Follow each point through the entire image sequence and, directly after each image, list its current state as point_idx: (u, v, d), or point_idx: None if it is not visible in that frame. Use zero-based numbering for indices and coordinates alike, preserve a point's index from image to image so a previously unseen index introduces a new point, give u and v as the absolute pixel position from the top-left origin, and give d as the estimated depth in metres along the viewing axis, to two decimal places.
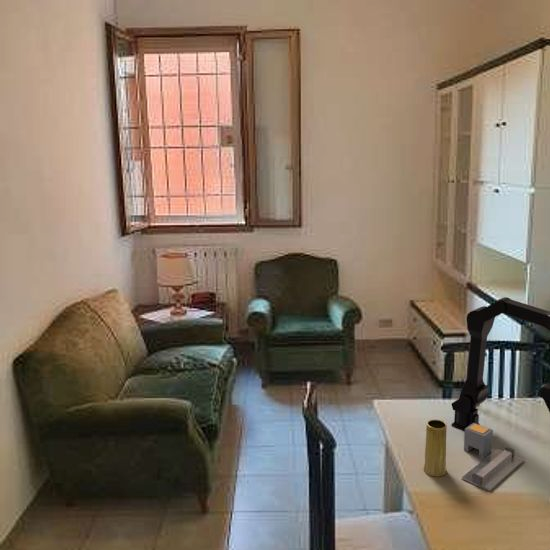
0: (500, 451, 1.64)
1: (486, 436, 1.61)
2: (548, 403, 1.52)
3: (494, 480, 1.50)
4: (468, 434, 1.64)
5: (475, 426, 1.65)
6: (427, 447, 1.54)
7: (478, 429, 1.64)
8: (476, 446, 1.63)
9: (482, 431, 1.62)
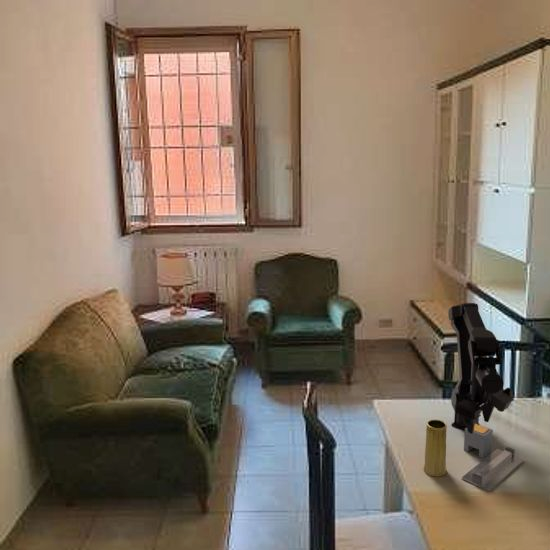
0: (500, 451, 1.64)
1: (486, 436, 1.61)
2: (464, 418, 1.60)
3: (494, 480, 1.50)
4: (468, 434, 1.64)
5: (475, 426, 1.65)
6: (427, 447, 1.54)
7: (478, 429, 1.64)
8: (476, 446, 1.63)
9: (482, 431, 1.62)
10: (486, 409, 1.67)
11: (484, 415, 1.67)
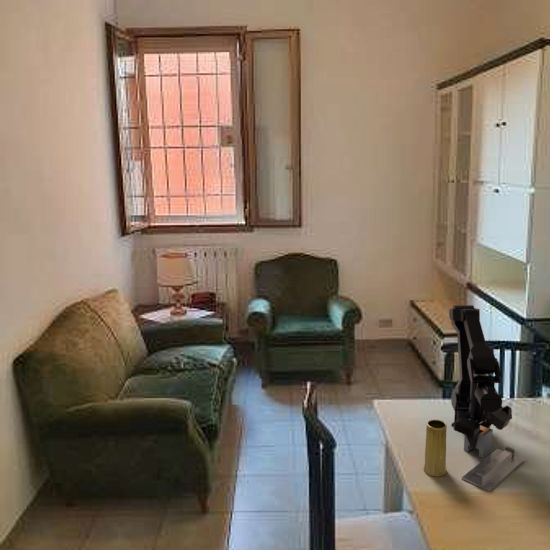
0: (500, 451, 1.64)
1: (486, 436, 1.61)
2: None
3: (494, 480, 1.50)
4: None
5: None
6: (427, 447, 1.54)
7: None
8: (476, 446, 1.63)
9: None
10: None
11: None
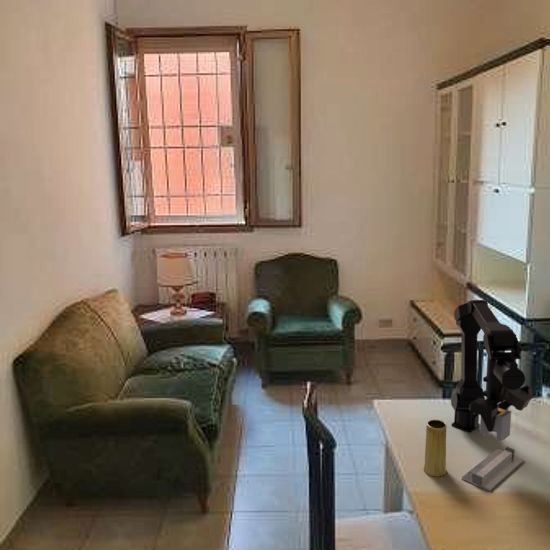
0: (500, 451, 1.64)
1: (504, 418, 1.50)
2: (483, 416, 1.51)
3: (494, 480, 1.50)
4: None
5: None
6: (427, 447, 1.54)
7: None
8: (493, 429, 1.51)
9: (500, 413, 1.51)
10: None
11: None
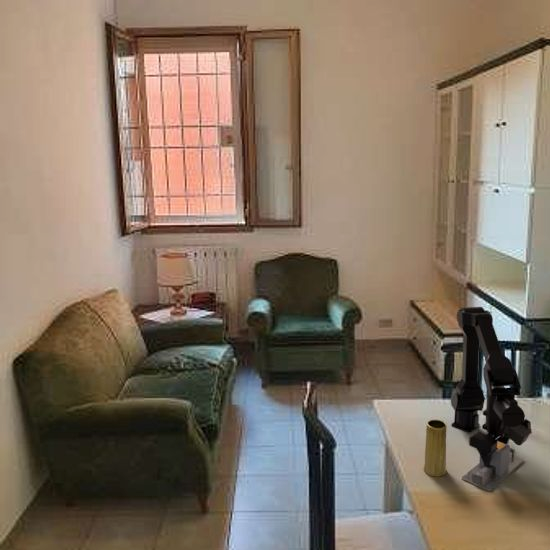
0: None
1: (503, 453, 1.52)
2: (480, 451, 1.52)
3: (494, 480, 1.50)
4: None
5: None
6: (427, 447, 1.54)
7: None
8: (493, 463, 1.53)
9: (499, 447, 1.53)
10: None
11: None
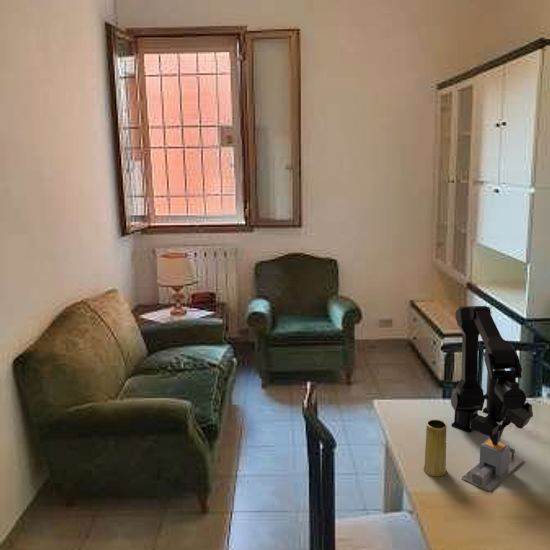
0: None
1: (503, 453, 1.52)
2: None
3: (494, 480, 1.50)
4: (483, 450, 1.54)
5: (491, 442, 1.55)
6: (427, 447, 1.54)
7: (495, 445, 1.54)
8: (493, 463, 1.53)
9: (499, 447, 1.53)
10: None
11: None
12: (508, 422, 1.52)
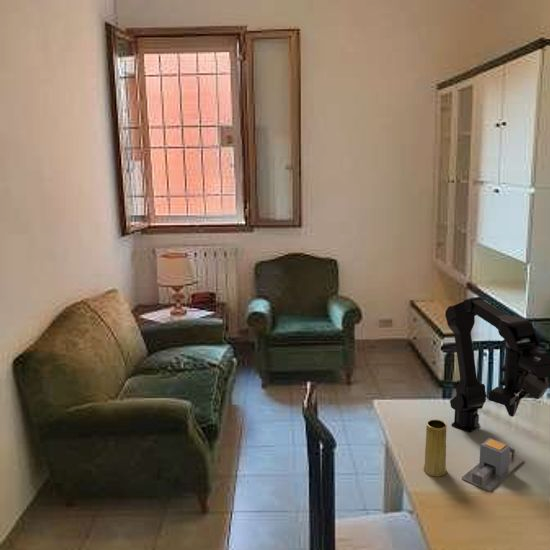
0: None
1: (503, 453, 1.52)
2: None
3: (494, 480, 1.50)
4: (483, 450, 1.54)
5: (491, 442, 1.55)
6: (427, 447, 1.54)
7: (495, 445, 1.54)
8: (493, 463, 1.53)
9: (499, 447, 1.53)
10: None
11: None
12: (524, 394, 1.56)
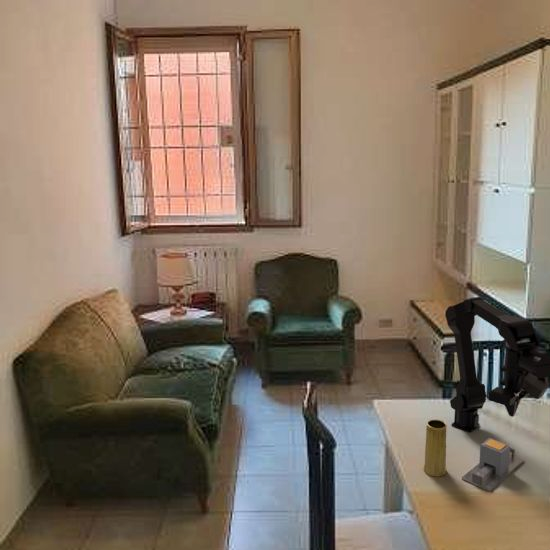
0: None
1: (503, 453, 1.52)
2: None
3: (494, 480, 1.50)
4: (483, 450, 1.54)
5: (491, 442, 1.55)
6: (427, 447, 1.54)
7: (495, 445, 1.54)
8: (493, 463, 1.53)
9: (499, 447, 1.53)
10: None
11: None
12: (524, 394, 1.56)
